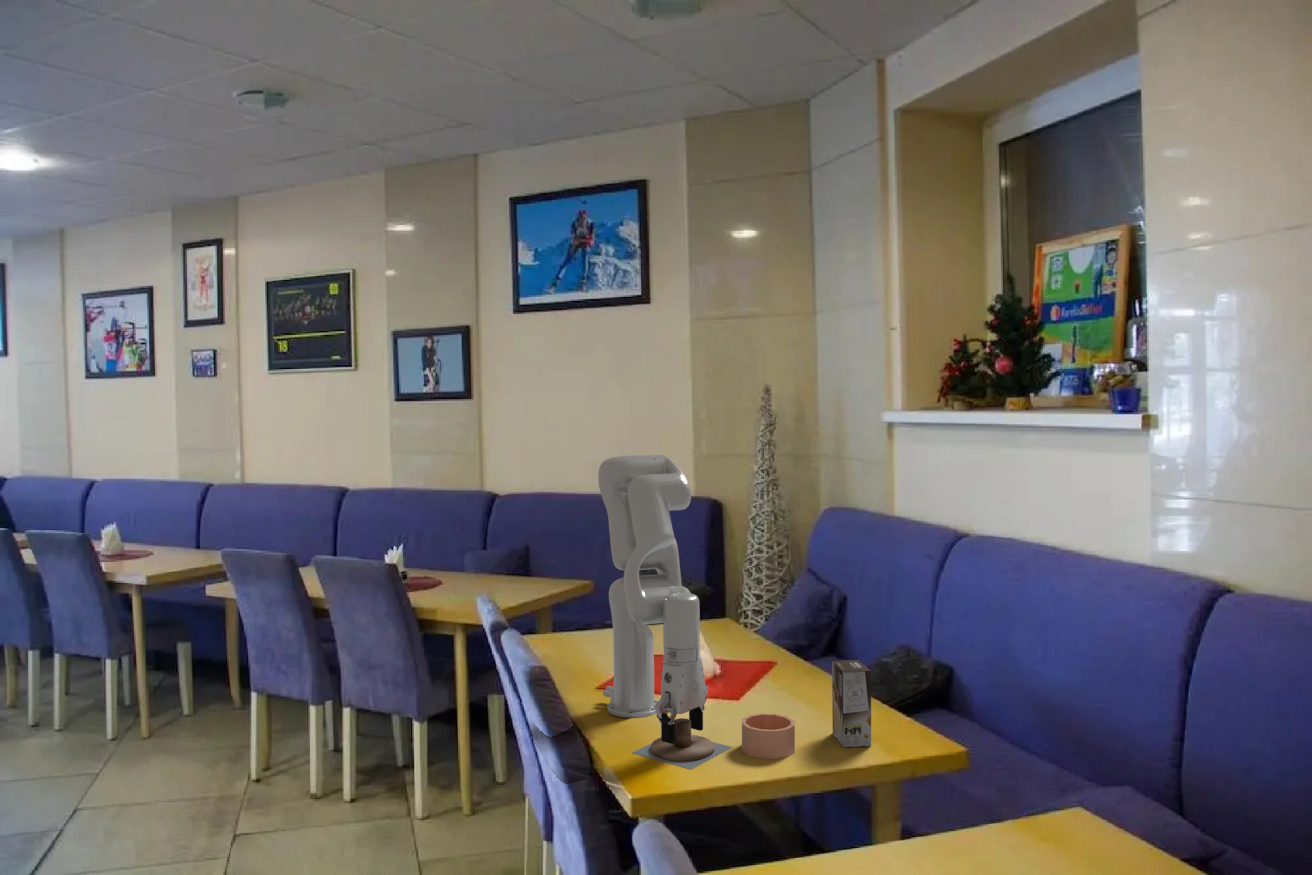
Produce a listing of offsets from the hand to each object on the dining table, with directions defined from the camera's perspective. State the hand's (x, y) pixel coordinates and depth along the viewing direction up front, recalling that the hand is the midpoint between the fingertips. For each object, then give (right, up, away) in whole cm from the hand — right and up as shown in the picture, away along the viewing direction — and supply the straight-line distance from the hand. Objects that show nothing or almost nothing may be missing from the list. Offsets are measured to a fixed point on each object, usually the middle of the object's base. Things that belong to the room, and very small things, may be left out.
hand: (682, 735), depth 195 cm
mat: (0, -3, 0) cm, 3 cm away
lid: (0, -3, 0) cm, 3 cm away
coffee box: (+36, -3, +6) cm, 37 cm away
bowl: (+18, -3, 0) cm, 18 cm away
